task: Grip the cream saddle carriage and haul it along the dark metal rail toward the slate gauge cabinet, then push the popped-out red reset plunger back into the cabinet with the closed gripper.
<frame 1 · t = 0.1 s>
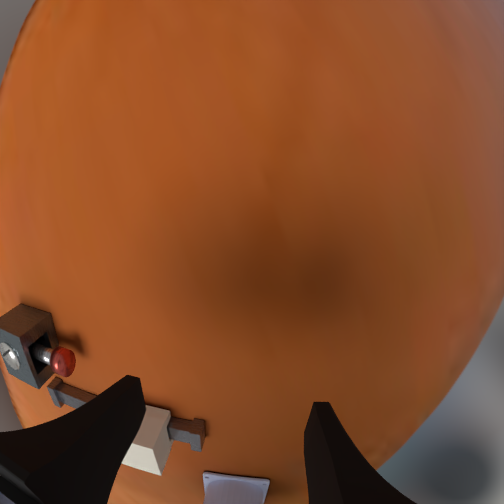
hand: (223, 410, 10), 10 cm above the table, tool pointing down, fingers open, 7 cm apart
plunger: (51, 357, 20), point 3 cm above the table, slide at 3.5 cm
gauge cabinet: (41, 333, 23), on the table
rail: (122, 409, 25), on the table
carriage: (143, 437, 22), point 3 cm above the table, slide at 0.0 cm
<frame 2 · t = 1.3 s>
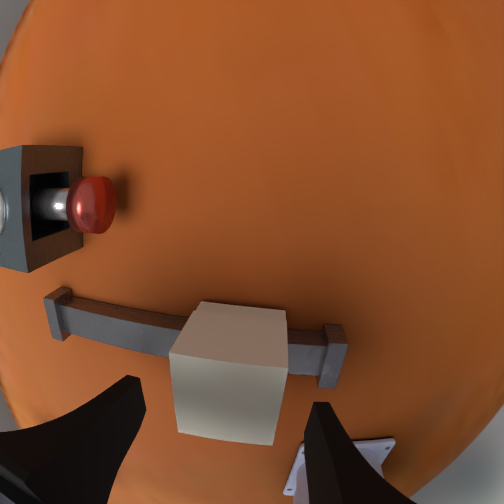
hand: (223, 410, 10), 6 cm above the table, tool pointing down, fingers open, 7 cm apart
plunger: (69, 204, 12), point 3 cm above the table, slide at 3.5 cm
gauge cabinet: (53, 197, 15), on the table
rail: (181, 331, 16), on the table
carriage: (233, 370, 13), point 3 cm above the table, slide at 0.0 cm
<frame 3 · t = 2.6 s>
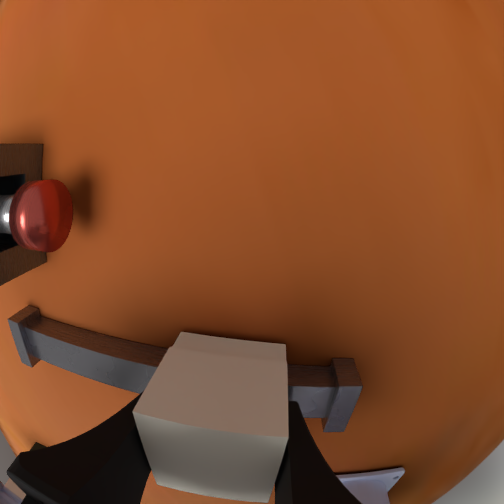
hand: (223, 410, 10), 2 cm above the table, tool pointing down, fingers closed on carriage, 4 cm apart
plunger: (19, 214, 9), point 3 cm above the table, slide at 3.5 cm
gauge cabinet: (14, 204, 11), on the table
rail: (161, 363, 13), on the table
carriage: (221, 418, 10), point 3 cm above the table, slide at 0.0 cm, touching gripper
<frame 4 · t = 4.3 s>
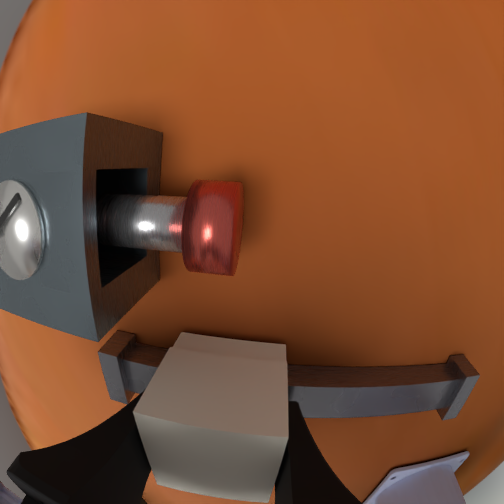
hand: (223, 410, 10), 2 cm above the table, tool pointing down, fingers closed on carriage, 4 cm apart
plunger: (166, 223, 8), point 3 cm above the table, slide at 3.5 cm
gauge cabinet: (107, 206, 11), on the table
rail: (300, 381, 13), on the table
carriage: (221, 418, 10), point 3 cm above the table, slide at 6.8 cm, touching gripper
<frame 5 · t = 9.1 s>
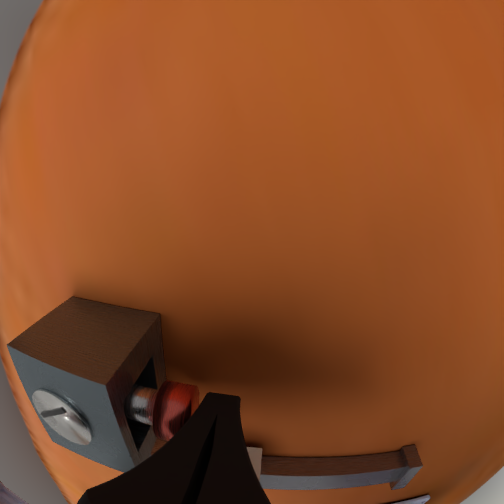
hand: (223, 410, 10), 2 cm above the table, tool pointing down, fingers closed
plunger: (143, 404, 10), point 3 cm above the table, slide at 2.1 cm, touching gripper
gauge cabinet: (120, 356, 13), on the table
rail: (279, 464, 14), on the table
carriage: (216, 494, 12), point 3 cm above the table, slide at 7.0 cm
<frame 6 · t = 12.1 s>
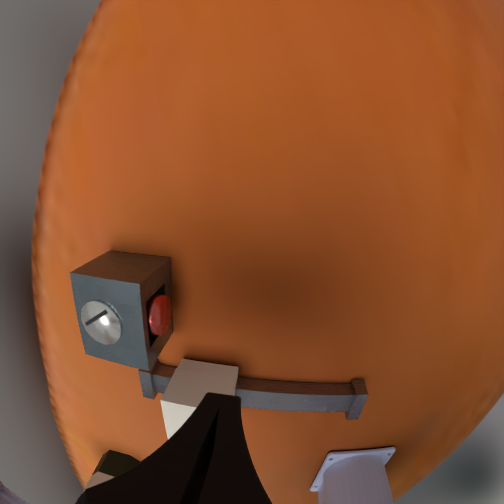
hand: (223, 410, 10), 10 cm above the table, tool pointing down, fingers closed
plunger: (135, 310, 18), point 3 cm above the table, slide at 0.5 cm
gauge cabinet: (140, 292, 20), on the table
rail: (253, 387, 22), on the table
carriage: (203, 405, 19), point 3 cm above the table, slide at 7.0 cm
wine bottle: (130, 466, 29), on the table
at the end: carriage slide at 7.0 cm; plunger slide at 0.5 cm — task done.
